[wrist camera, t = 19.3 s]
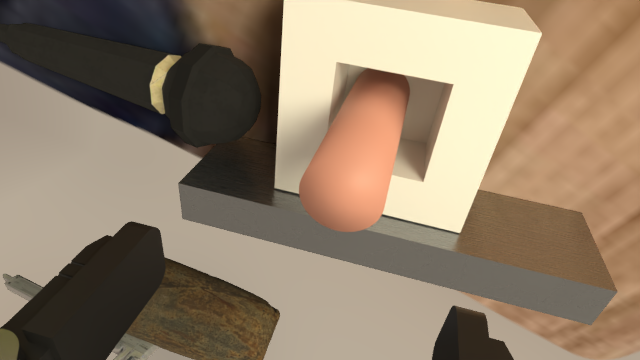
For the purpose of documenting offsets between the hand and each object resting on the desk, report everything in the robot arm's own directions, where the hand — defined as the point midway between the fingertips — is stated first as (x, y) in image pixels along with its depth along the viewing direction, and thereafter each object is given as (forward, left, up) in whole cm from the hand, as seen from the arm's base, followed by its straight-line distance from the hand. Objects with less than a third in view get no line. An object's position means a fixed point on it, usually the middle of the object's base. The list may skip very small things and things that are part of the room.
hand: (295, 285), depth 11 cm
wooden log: (-12, -20, -15) cm, 28 cm away
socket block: (+1, 0, -15) cm, 15 cm away
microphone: (-15, 0, -15) cm, 21 cm away
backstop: (+2, -6, -15) cm, 16 cm away
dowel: (+1, 0, -14) cm, 14 cm away
